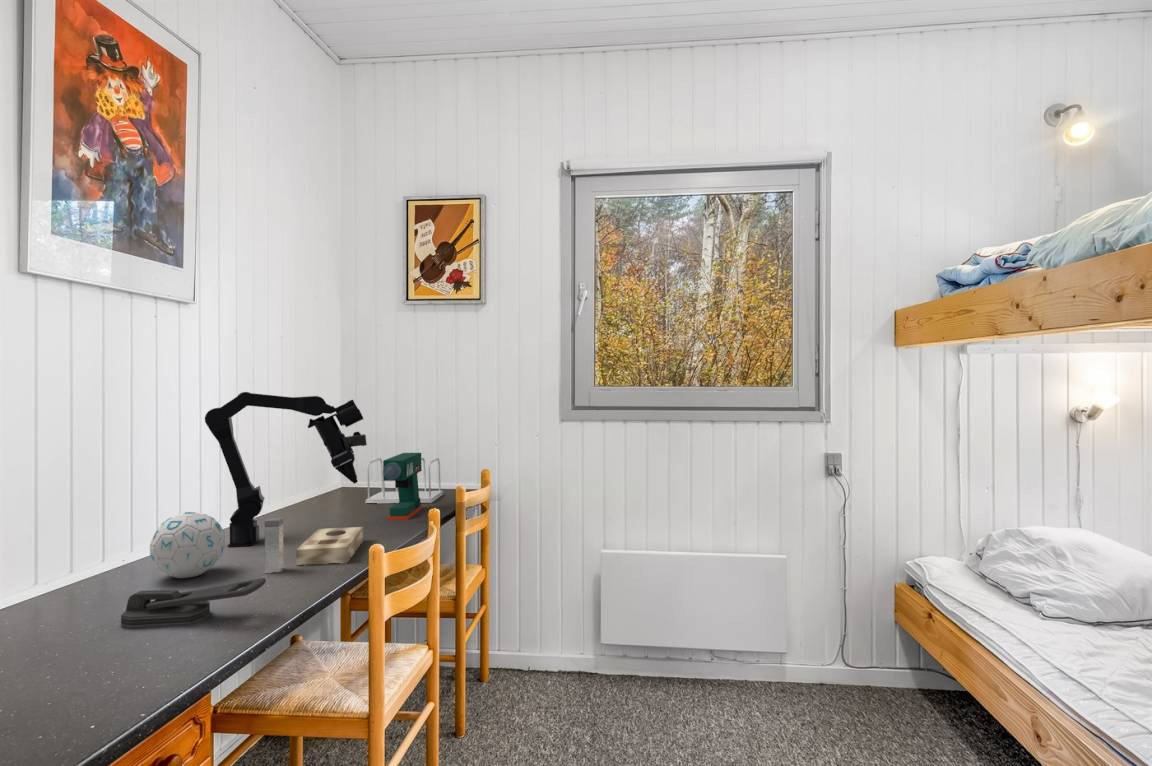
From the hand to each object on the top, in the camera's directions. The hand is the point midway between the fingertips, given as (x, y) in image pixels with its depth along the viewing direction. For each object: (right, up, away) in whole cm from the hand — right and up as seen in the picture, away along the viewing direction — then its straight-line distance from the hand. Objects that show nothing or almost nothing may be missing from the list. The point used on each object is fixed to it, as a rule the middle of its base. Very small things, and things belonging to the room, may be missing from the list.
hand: (355, 480), depth 187 cm
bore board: (+1, -16, -21) cm, 26 cm away
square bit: (-6, -16, -37) cm, 41 cm away
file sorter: (0, -16, +53) cm, 55 cm away
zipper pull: (-7, -16, -67) cm, 69 cm away
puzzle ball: (-25, -16, -40) cm, 50 cm away
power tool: (+8, -16, +20) cm, 27 cm away
